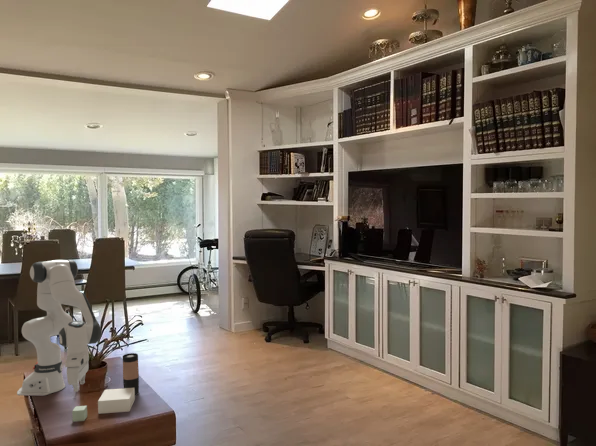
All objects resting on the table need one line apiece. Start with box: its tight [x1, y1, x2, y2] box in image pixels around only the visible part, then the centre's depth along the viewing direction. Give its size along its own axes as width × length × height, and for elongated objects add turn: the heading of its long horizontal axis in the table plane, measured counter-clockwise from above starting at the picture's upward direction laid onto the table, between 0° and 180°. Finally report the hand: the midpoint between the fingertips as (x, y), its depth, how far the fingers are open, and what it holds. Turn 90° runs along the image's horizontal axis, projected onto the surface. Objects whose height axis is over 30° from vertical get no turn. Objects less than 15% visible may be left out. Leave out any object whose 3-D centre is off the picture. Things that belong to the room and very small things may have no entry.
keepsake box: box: [97, 387, 136, 415], centre depth 236 cm, size 14×14×6 cm
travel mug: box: [122, 352, 140, 396], centre depth 251 cm, size 8×8×20 cm
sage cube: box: [71, 405, 88, 423], centre depth 223 cm, size 5×5×5 cm
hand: (79, 387), depth 222 cm, fingers open, 8 cm apart
